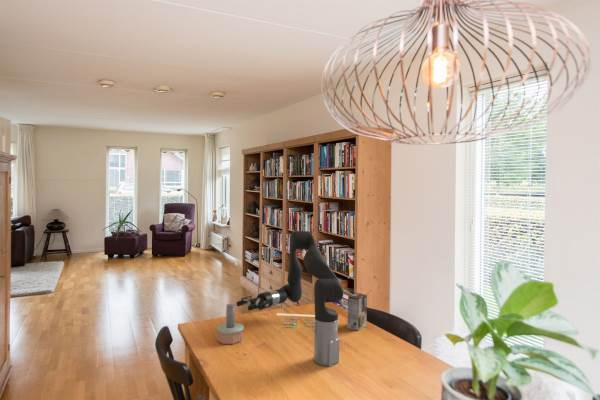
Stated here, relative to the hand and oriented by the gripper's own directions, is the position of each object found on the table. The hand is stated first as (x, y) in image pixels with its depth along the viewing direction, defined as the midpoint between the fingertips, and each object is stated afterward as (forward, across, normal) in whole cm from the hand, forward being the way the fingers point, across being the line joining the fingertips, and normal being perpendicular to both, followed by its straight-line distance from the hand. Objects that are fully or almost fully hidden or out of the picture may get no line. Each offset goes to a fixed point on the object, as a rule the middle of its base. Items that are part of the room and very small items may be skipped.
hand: (242, 306), depth 185 cm
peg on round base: (+7, 0, +9) cm, 11 cm away
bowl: (+7, 0, +14) cm, 16 cm away
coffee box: (-49, +30, +14) cm, 59 cm away
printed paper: (-32, +8, +15) cm, 36 cm away
